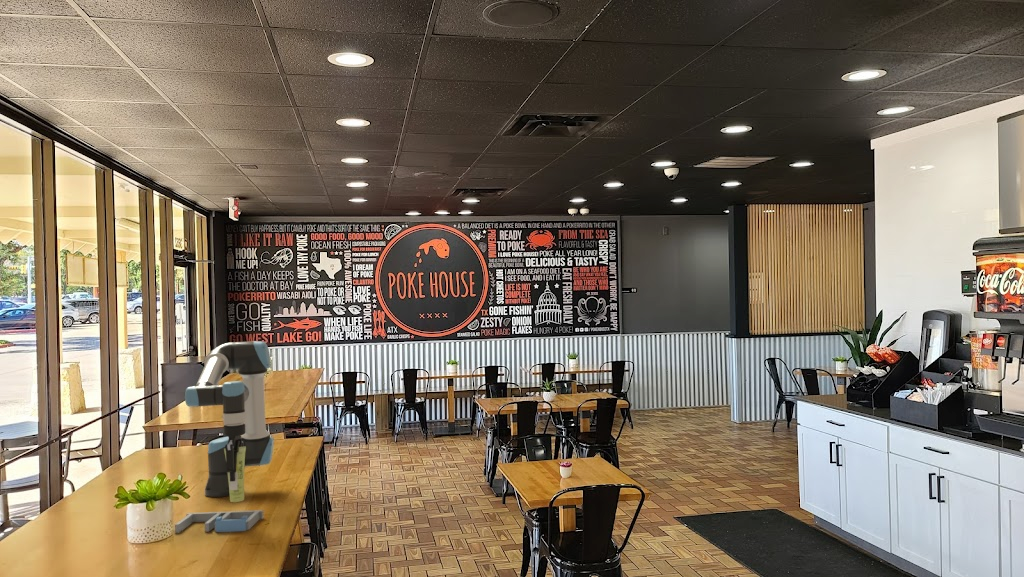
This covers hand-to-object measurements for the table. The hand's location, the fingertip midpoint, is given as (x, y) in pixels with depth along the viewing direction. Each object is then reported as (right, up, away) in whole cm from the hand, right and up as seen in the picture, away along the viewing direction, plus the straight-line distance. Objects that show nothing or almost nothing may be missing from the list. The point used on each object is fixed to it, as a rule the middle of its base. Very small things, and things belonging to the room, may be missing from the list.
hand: (236, 487), depth 272 cm
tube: (0, -5, 0) cm, 5 cm away
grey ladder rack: (-7, -14, +1) cm, 16 cm away
